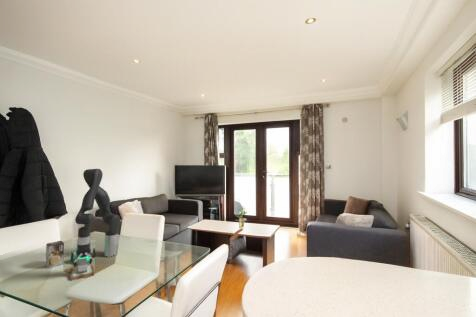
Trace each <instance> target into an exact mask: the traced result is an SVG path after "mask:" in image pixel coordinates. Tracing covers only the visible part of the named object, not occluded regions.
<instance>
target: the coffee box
mask: <svg viewBox="0 0 476 317" xmlns="http://www.w3.org/2000/svg"><path fill="white" fill-rule="evenodd" d="M45 246H46V248H45V251H46V252H45V266H46V267H47V268H48V269H51V268H55V267H58V266H61V265H64V260H65V258H64V254H65V250H64V249H65V243H64V242H63V241H62V240H57V241H54V242H53V241H52V242H49V243H46V245H45Z"/></svg>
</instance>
